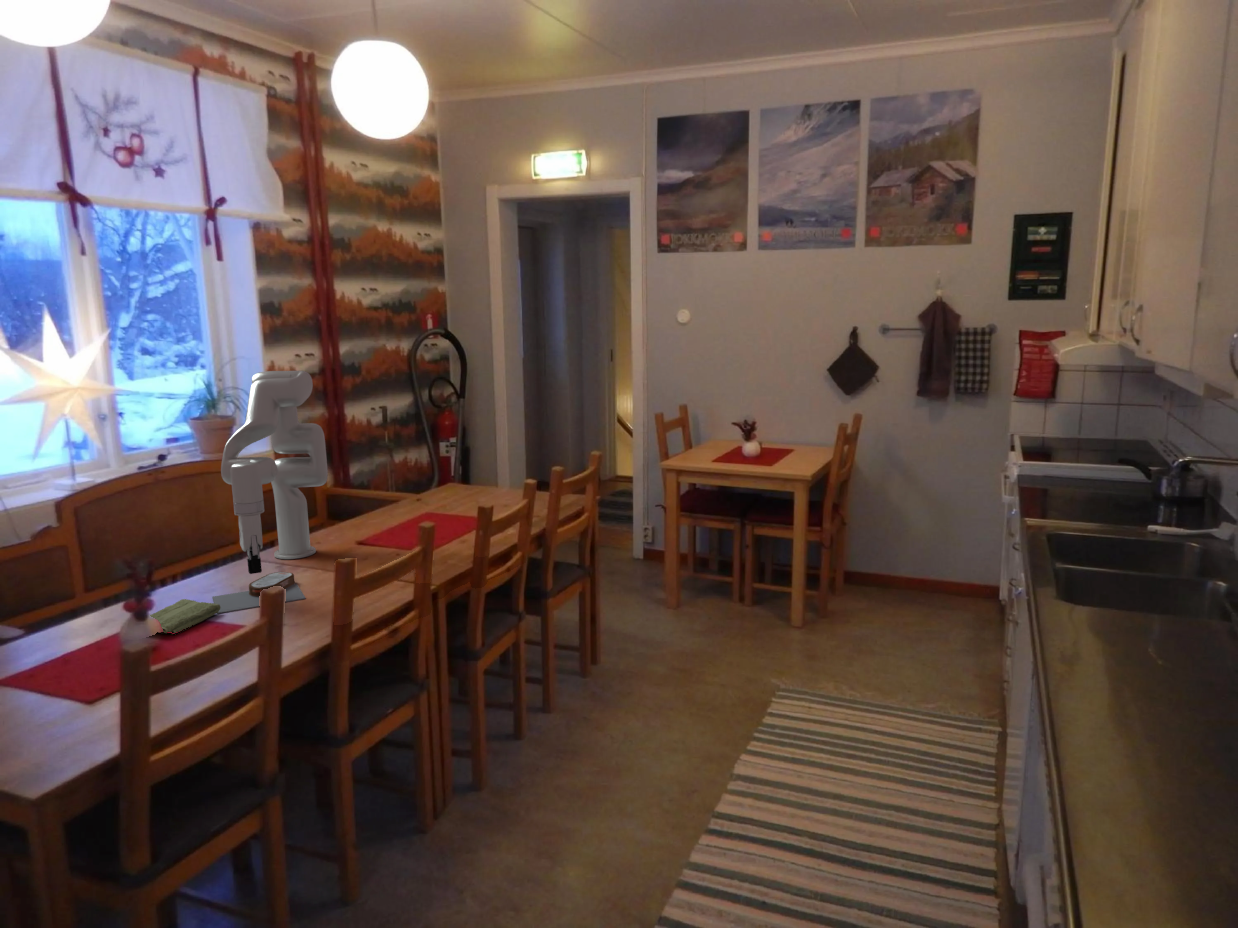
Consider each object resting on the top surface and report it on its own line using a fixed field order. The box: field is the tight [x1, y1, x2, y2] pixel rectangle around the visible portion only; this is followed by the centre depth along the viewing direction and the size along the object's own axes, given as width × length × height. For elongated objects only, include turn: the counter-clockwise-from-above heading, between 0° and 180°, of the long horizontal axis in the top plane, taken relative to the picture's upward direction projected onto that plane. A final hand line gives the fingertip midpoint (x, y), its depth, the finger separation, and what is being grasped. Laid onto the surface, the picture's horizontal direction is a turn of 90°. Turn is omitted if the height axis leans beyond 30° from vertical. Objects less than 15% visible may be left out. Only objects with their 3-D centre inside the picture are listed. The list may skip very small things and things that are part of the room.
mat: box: [211, 582, 307, 615], centre depth 232 cm, size 15×22×1 cm
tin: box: [248, 571, 296, 596], centre depth 239 cm, size 15×3×8 cm
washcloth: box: [149, 598, 221, 634], centre depth 214 cm, size 13×18×3 cm
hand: (255, 572), depth 233 cm, fingers closed
